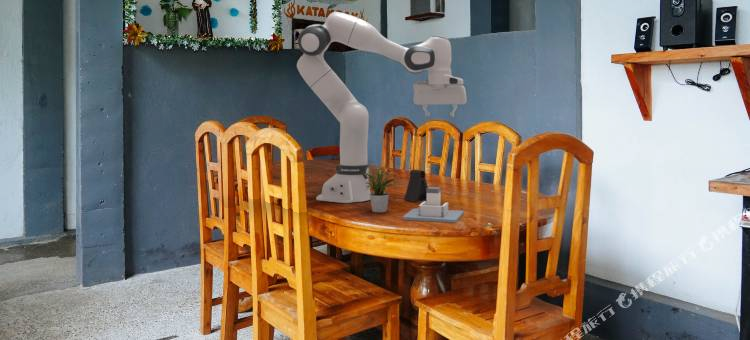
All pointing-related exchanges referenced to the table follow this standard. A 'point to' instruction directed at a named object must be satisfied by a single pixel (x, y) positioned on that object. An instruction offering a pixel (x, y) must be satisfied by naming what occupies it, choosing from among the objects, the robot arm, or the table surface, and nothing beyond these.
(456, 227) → the table surface
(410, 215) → the dock board
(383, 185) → the house plant
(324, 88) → the robot arm
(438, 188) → the cable plug
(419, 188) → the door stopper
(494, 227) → the table surface
